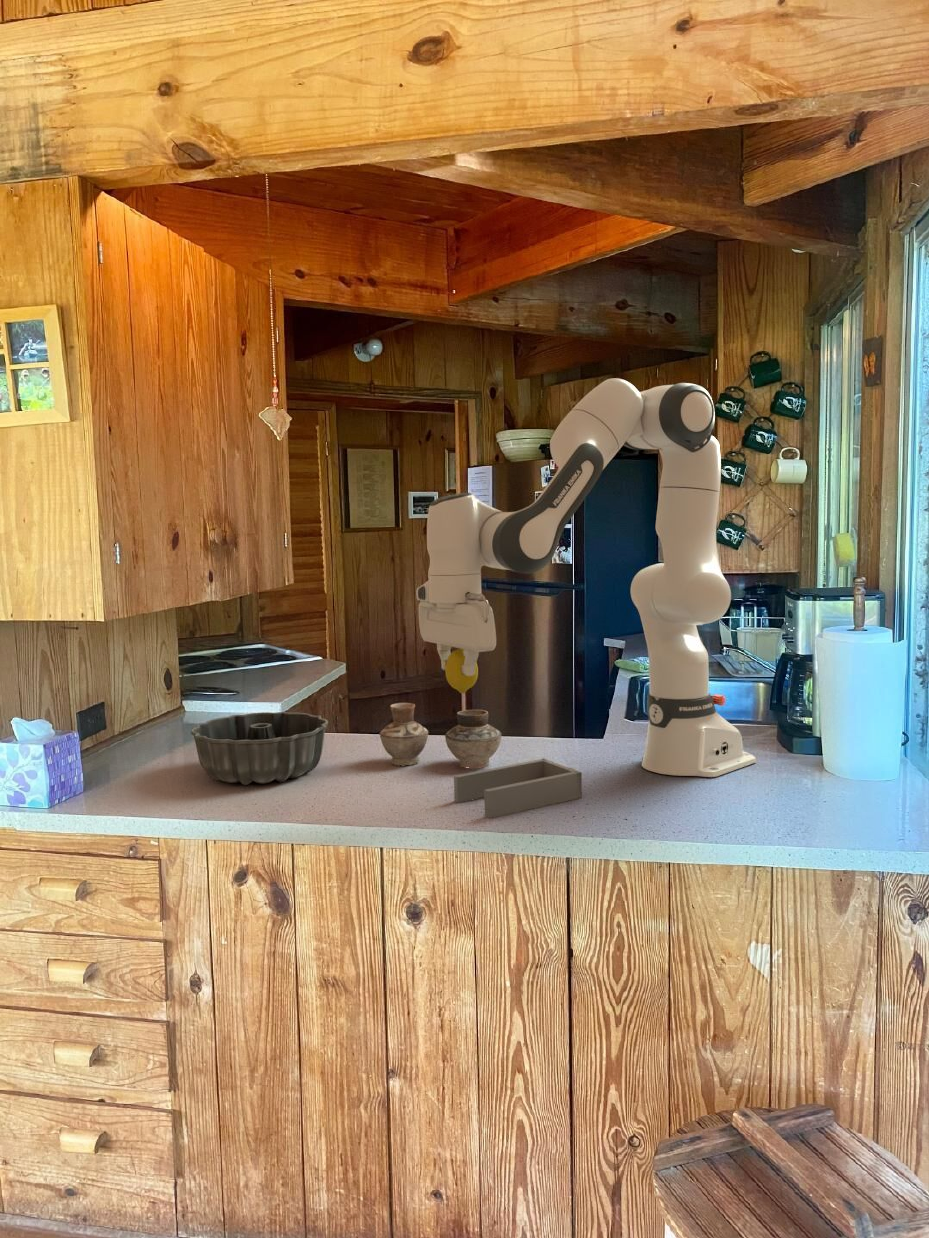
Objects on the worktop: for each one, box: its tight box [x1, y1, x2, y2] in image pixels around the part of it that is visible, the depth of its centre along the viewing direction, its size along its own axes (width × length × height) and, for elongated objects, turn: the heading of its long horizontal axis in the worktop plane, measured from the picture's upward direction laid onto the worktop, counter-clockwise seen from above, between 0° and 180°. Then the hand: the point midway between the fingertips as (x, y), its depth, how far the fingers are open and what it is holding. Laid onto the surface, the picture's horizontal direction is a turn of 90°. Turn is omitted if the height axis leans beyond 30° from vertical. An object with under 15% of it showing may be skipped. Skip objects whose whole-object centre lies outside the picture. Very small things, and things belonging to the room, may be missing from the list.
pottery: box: [379, 702, 502, 769], centre depth 184 cm, size 11×25×12 cm, turn 77°
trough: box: [453, 758, 583, 819], centre depth 160 cm, size 19×11×4 cm, turn 120°
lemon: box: [444, 648, 479, 694], centre depth 156 cm, size 6×6×8 cm
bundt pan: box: [190, 711, 329, 786], centre depth 182 cm, size 26×26×10 cm
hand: (458, 672), depth 155 cm, fingers closed on lemon, 5 cm apart
